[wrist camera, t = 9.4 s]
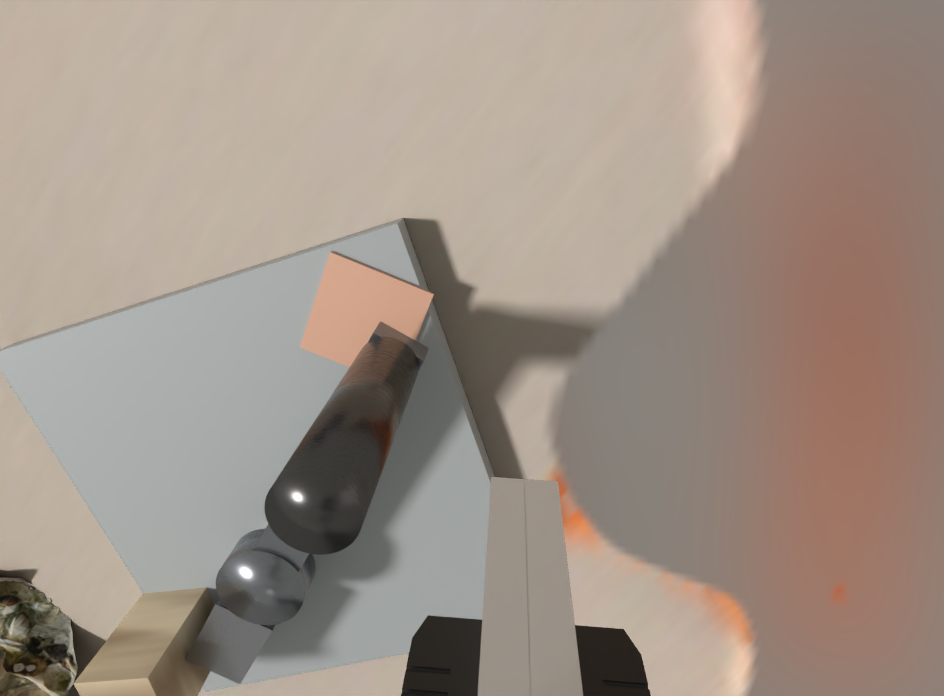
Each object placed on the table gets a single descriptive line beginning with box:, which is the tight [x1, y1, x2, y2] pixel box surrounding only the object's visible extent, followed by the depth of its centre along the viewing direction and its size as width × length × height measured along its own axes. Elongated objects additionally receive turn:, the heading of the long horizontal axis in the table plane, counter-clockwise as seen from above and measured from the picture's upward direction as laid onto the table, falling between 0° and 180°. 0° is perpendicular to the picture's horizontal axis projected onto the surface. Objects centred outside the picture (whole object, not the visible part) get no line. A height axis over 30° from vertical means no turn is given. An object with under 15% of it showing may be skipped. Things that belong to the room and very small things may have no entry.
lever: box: [186, 321, 429, 684], centre depth 25 cm, size 22×4×13 cm, turn 150°
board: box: [0, 218, 495, 691], centre depth 33 cm, size 24×22×2 cm
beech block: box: [73, 587, 214, 696], centre depth 33 cm, size 4×4×6 cm
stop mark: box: [300, 251, 434, 367], centre depth 28 cm, size 5×5×1 cm
